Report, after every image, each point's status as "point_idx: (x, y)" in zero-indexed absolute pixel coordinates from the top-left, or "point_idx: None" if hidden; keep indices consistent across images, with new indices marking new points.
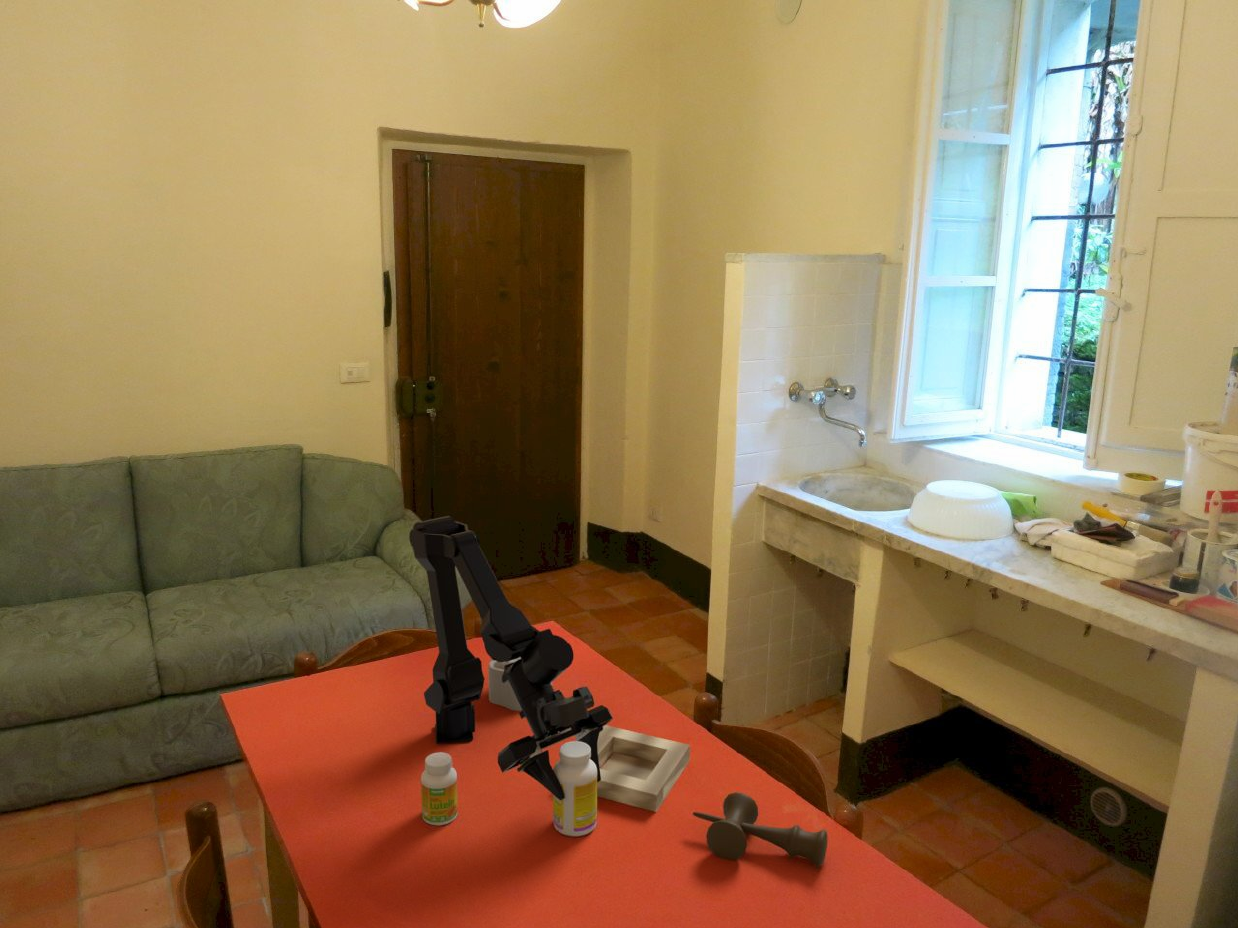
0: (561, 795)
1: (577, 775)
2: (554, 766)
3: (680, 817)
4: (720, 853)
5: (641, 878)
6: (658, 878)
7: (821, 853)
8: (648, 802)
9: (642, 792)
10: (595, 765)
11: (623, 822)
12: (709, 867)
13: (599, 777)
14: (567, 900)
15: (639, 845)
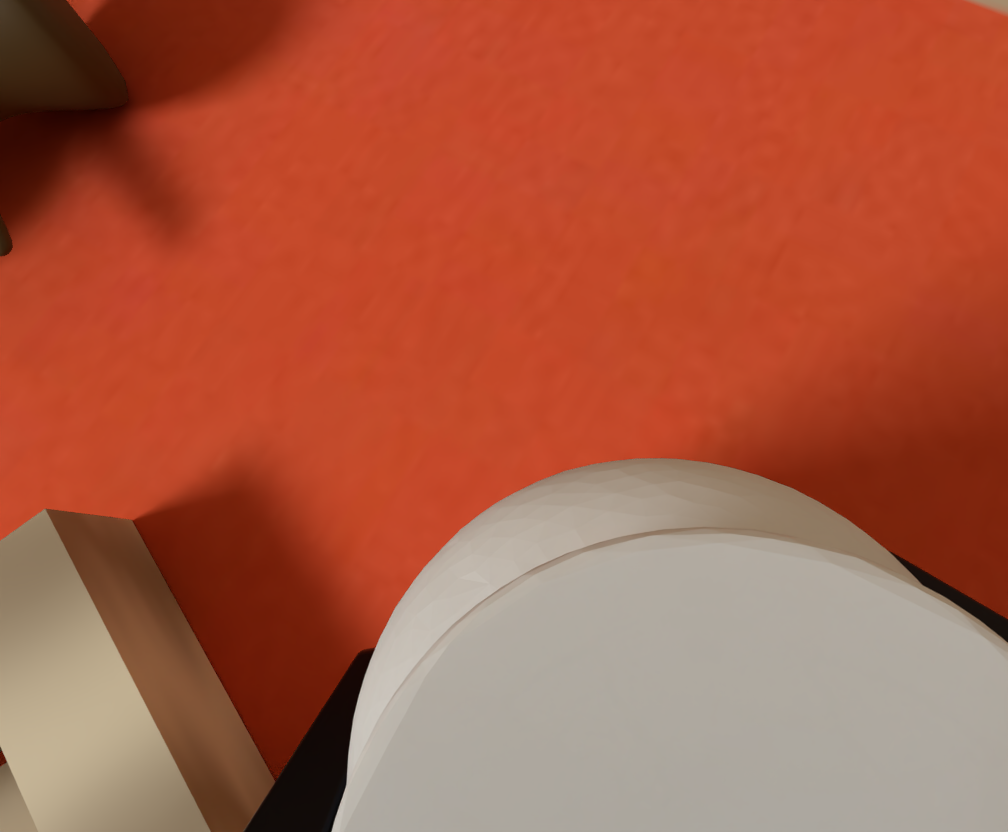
0: (910, 563)
1: (768, 512)
2: None
3: (61, 411)
4: (110, 57)
5: (518, 98)
6: (448, 68)
7: None
8: (121, 561)
9: (99, 598)
10: (380, 659)
11: (345, 529)
12: (208, 43)
13: (367, 661)
14: (937, 106)
15: (386, 309)
